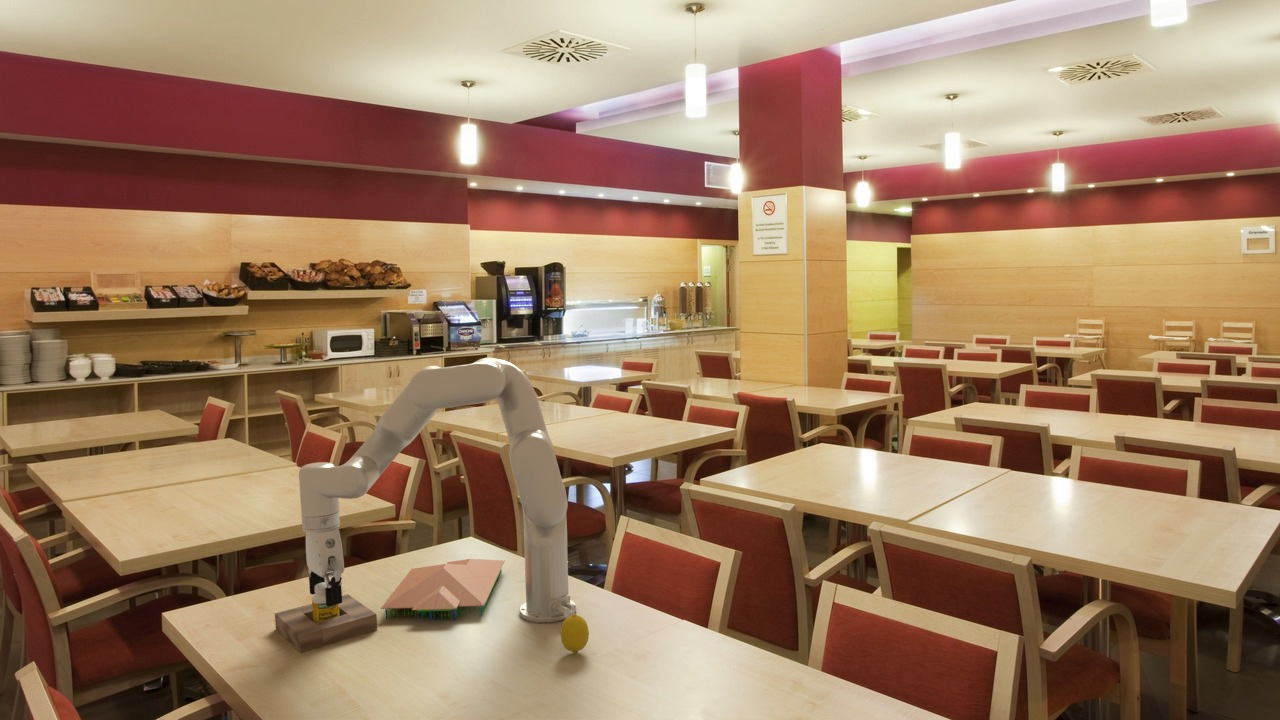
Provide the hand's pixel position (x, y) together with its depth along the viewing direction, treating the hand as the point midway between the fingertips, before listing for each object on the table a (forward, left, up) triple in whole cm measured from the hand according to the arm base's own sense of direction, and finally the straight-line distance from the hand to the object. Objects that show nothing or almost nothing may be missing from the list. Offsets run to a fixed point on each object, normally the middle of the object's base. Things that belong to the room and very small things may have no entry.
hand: (325, 598), depth 172 cm
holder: (0, 0, -7) cm, 7 cm away
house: (-1, -28, -8) cm, 29 cm away
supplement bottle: (0, 0, -7) cm, 7 cm away
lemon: (-47, -32, -7) cm, 57 cm away
